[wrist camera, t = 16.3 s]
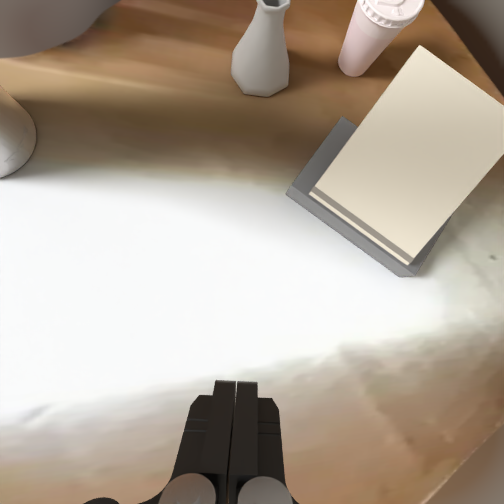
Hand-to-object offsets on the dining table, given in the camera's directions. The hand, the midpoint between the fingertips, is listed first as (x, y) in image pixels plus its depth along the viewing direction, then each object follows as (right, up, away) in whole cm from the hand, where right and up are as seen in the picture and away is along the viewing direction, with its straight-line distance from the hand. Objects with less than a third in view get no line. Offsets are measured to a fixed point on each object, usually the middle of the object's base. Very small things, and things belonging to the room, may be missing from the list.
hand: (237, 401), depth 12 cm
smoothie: (+13, +29, +29) cm, 43 cm away
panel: (+11, +8, +21) cm, 25 cm away
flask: (+1, +27, +27) cm, 38 cm away
